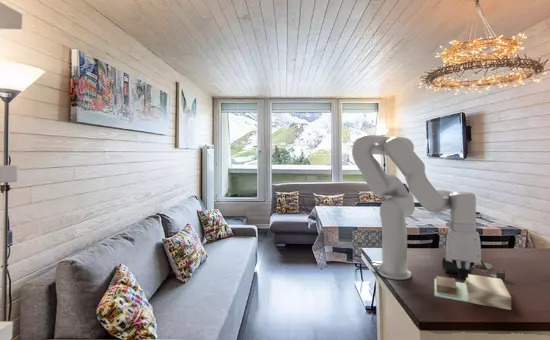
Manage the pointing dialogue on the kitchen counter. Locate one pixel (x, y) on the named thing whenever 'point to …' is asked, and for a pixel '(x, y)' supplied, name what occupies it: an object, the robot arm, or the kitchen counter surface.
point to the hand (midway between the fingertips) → (462, 278)
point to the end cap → (453, 266)
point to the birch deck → (487, 291)
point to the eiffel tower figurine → (484, 266)
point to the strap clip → (500, 276)
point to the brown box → (446, 285)
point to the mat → (460, 294)
